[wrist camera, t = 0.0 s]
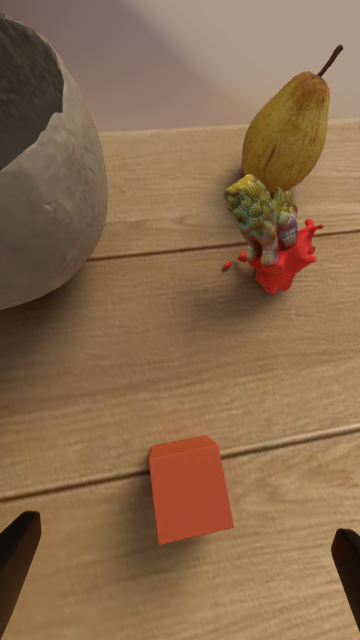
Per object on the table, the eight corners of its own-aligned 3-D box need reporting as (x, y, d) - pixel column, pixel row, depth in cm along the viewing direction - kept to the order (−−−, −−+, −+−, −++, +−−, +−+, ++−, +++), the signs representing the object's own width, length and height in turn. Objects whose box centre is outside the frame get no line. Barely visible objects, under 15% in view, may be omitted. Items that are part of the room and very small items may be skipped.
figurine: (229, 276, 33) (201, 180, 26) (312, 253, 30) (306, 137, 23) (233, 314, 27) (197, 203, 20) (338, 291, 24) (340, 149, 17)
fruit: (240, 205, 31) (285, 91, 19) (229, 151, 33) (264, 22, 22) (306, 204, 31) (388, 93, 20) (291, 150, 34) (355, 26, 23)
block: (206, 435, 23) (218, 444, 18) (218, 498, 21) (234, 528, 16) (151, 446, 22) (148, 458, 17) (159, 512, 21) (158, 546, 16)
